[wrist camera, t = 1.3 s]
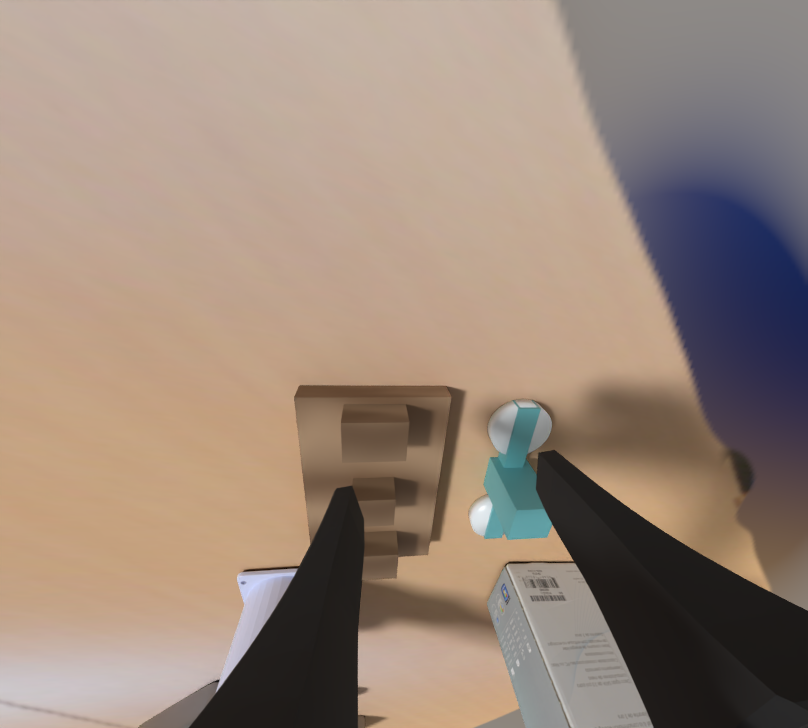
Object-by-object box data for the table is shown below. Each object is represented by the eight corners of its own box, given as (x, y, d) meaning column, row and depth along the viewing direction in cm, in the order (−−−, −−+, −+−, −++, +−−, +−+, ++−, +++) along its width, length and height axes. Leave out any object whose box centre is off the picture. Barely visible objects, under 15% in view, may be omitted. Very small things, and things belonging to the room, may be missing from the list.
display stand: (425, 538, 28) (432, 579, 25) (315, 545, 27) (308, 588, 23) (446, 386, 21) (459, 415, 18) (299, 385, 20) (285, 416, 17)
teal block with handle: (511, 525, 28) (537, 582, 24) (464, 528, 28) (483, 586, 23) (551, 398, 22) (597, 442, 18) (493, 398, 22) (525, 444, 17)
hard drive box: (483, 602, 34) (611, 1031, 16) (503, 560, 31) (690, 1034, 13) (603, 599, 36) (831, 966, 18) (632, 559, 33) (943, 957, 15)
